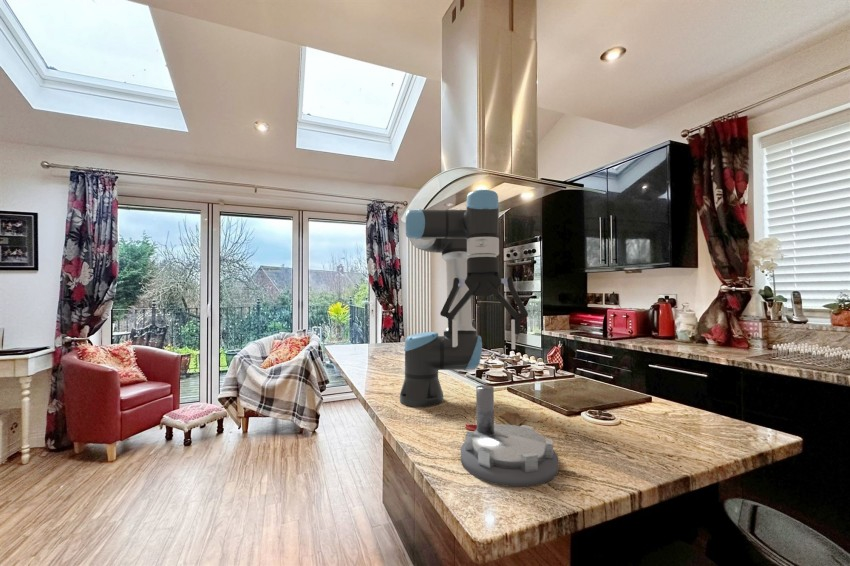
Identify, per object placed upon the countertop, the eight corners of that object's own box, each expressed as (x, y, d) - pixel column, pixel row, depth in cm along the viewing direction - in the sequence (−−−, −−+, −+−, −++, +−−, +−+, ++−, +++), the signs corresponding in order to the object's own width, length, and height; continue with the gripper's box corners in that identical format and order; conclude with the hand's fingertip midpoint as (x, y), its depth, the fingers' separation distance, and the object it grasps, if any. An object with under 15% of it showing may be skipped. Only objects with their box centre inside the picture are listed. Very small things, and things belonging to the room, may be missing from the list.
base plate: (468, 437, 92) (468, 428, 92) (554, 446, 87) (554, 437, 87) (452, 478, 72) (452, 467, 72) (563, 493, 66) (563, 481, 66)
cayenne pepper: (459, 426, 101) (459, 419, 101) (472, 423, 103) (472, 417, 103) (486, 442, 91) (486, 434, 91) (500, 438, 93) (500, 431, 93)
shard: (514, 433, 96) (514, 426, 96) (488, 427, 101) (488, 421, 101) (527, 421, 105) (527, 414, 105) (502, 416, 110) (502, 410, 110)
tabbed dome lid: (450, 452, 79) (450, 393, 79) (497, 429, 92) (496, 378, 93) (523, 481, 67) (522, 411, 67) (564, 449, 80) (563, 391, 80)
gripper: (427, 257, 84) (428, 347, 84) (538, 253, 77) (540, 352, 77) (435, 259, 91) (435, 343, 91) (537, 257, 85) (538, 346, 84)
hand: (483, 347), depth 84 cm, fingers open, 13 cm apart
